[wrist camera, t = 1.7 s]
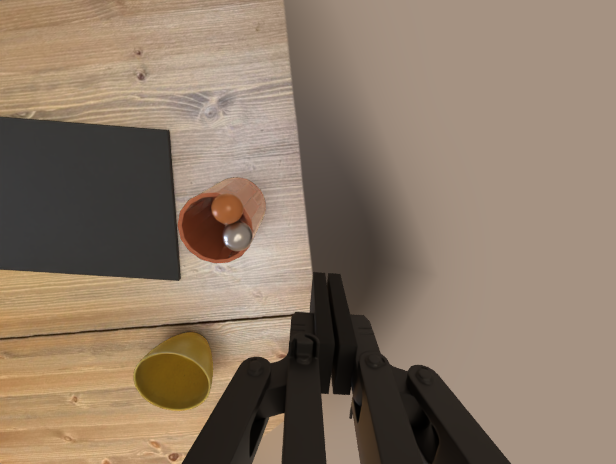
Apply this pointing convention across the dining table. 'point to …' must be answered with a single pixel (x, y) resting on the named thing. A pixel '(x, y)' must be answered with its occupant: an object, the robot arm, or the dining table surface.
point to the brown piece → (227, 208)
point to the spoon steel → (237, 236)
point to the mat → (87, 200)
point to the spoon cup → (208, 231)
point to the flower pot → (176, 373)
